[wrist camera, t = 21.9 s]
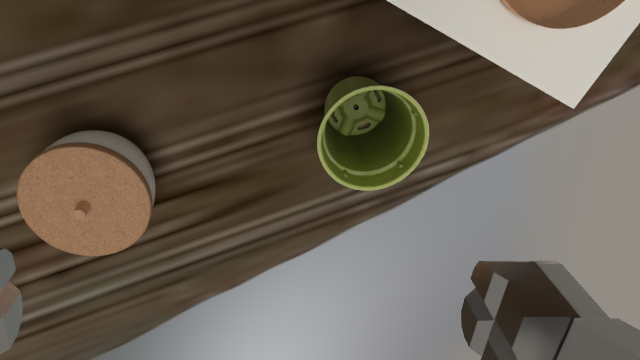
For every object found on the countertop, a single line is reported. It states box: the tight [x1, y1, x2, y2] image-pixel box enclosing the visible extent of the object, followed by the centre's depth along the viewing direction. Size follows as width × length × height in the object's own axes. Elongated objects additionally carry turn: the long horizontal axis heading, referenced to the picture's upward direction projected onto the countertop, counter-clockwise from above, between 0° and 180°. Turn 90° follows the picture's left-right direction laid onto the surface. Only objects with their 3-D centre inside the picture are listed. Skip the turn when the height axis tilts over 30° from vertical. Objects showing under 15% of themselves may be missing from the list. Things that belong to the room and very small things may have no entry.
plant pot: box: [317, 76, 429, 191], centre depth 46 cm, size 9×9×9 cm
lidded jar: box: [17, 130, 155, 256], centre depth 45 cm, size 11×11×9 cm
